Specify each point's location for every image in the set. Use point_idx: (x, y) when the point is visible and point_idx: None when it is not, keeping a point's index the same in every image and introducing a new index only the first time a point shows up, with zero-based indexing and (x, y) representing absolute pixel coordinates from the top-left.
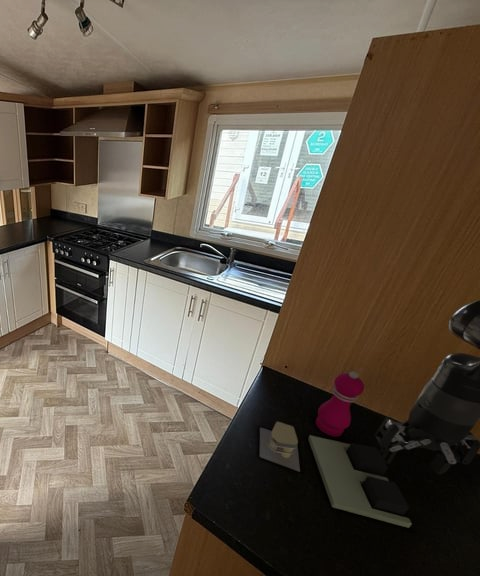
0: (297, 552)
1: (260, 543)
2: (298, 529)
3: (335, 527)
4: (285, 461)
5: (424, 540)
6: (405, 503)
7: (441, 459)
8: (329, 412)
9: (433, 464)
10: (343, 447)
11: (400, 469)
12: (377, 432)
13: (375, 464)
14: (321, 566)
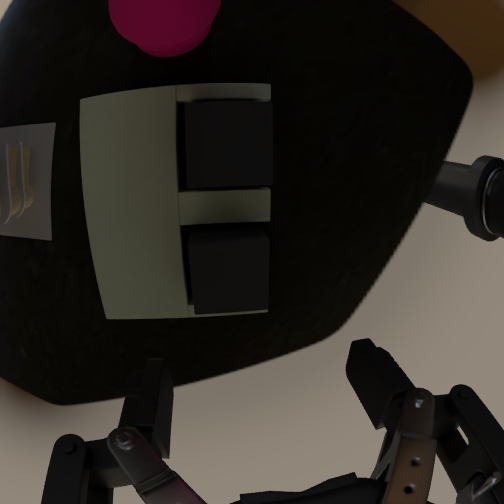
0: (67, 390)
1: (29, 386)
2: (62, 363)
3: (115, 347)
4: (25, 221)
5: (283, 317)
6: (263, 301)
7: (379, 411)
8: (116, 10)
9: (359, 358)
10: (174, 106)
11: (332, 129)
12: (52, 476)
13: (234, 183)
14: (96, 399)
